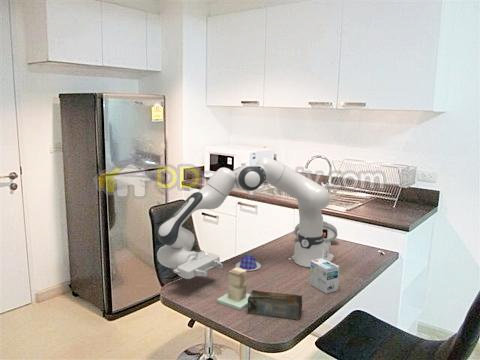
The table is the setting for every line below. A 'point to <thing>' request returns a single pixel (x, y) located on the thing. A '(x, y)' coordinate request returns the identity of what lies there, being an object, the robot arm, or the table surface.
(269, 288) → the table surface
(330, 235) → the alarm clock
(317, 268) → the light bulb box
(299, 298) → the beverage carton
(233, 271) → the beech block
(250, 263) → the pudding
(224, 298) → the sage tile
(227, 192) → the robot arm
